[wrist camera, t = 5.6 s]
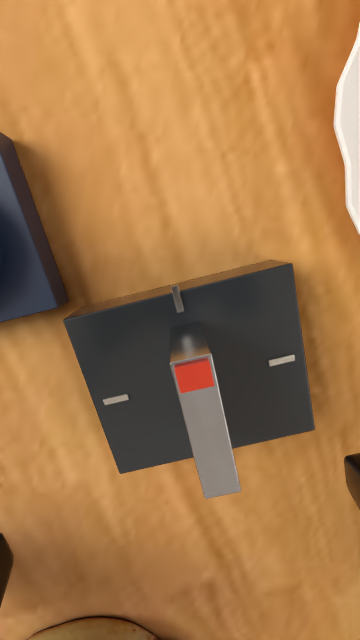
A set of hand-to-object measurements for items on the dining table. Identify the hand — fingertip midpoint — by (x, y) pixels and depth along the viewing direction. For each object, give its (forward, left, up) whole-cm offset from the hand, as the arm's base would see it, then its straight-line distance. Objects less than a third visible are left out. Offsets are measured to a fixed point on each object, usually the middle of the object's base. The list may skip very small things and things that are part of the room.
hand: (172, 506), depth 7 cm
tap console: (+1, -1, -11) cm, 12 cm away
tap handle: (+1, -1, -8) cm, 8 cm away
